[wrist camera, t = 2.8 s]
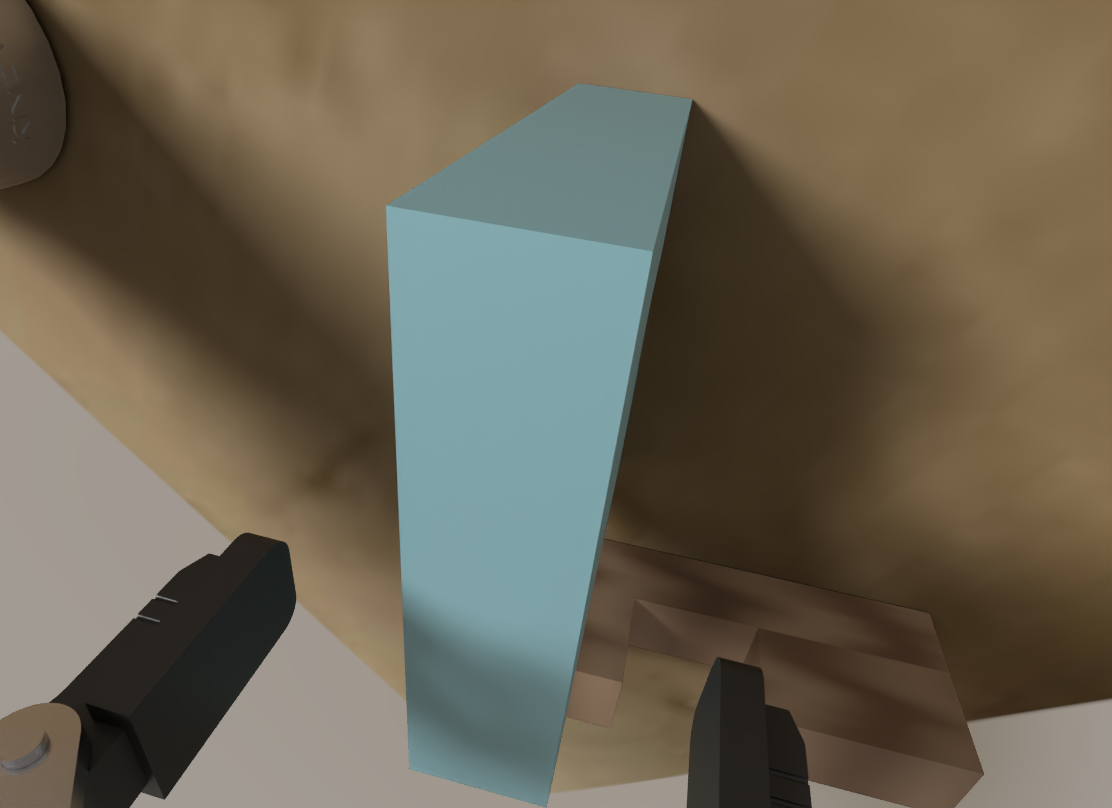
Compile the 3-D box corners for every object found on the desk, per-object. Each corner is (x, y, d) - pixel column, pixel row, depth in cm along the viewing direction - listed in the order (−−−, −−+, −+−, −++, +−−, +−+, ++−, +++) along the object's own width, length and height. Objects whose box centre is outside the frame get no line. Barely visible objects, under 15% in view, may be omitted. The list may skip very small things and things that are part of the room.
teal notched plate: (620, 462, 27) (546, 807, 16) (539, 444, 28) (409, 769, 16) (692, 99, 20) (653, 251, 8) (579, 83, 20) (385, 205, 8)
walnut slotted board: (481, 556, 32) (428, 680, 26) (484, 511, 30) (428, 633, 25) (902, 656, 30) (946, 816, 24) (929, 613, 28) (984, 774, 22)
